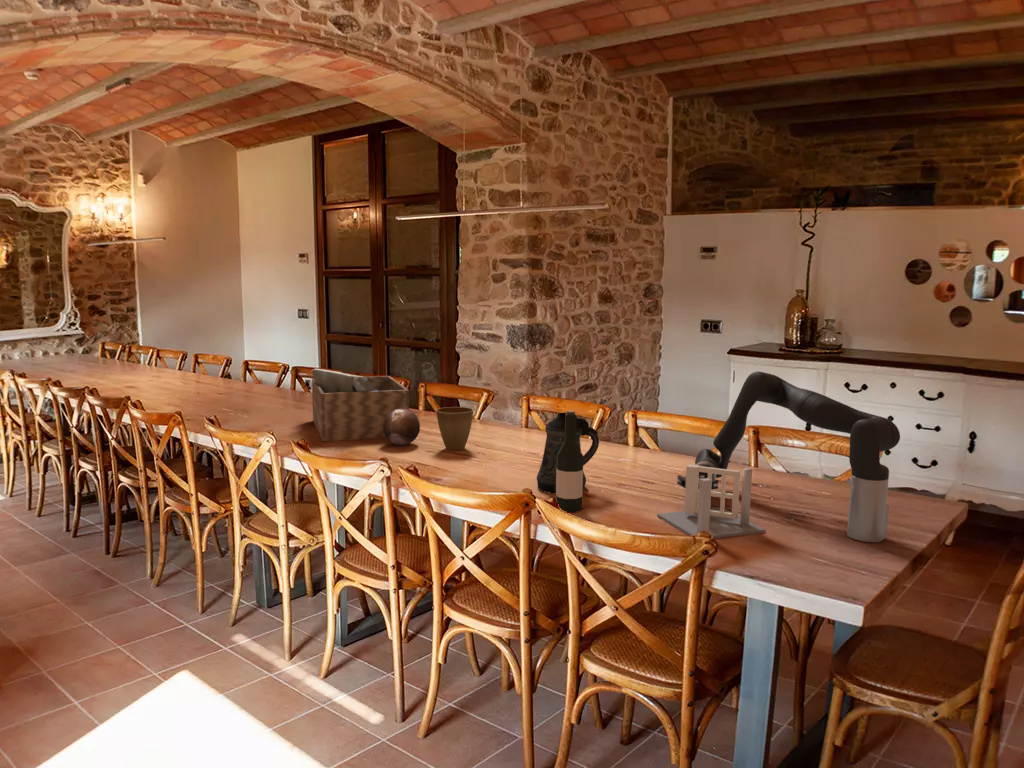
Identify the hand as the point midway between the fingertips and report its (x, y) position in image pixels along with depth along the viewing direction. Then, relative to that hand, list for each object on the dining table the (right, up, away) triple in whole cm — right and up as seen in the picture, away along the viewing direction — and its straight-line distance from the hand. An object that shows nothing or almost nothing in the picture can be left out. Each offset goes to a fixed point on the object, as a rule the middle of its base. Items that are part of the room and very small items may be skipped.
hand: (692, 489), depth 230 cm
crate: (-122, +11, +122) cm, 173 cm away
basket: (-121, +11, +123) cm, 172 cm away
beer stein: (-35, -4, +32) cm, 48 cm away
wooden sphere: (-98, +6, +91) cm, 134 cm away
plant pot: (-76, +5, +85) cm, 114 cm away
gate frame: (+4, -9, -5) cm, 11 cm away
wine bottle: (-36, -7, +9) cm, 37 cm away
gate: (+5, -7, -3) cm, 9 cm away
